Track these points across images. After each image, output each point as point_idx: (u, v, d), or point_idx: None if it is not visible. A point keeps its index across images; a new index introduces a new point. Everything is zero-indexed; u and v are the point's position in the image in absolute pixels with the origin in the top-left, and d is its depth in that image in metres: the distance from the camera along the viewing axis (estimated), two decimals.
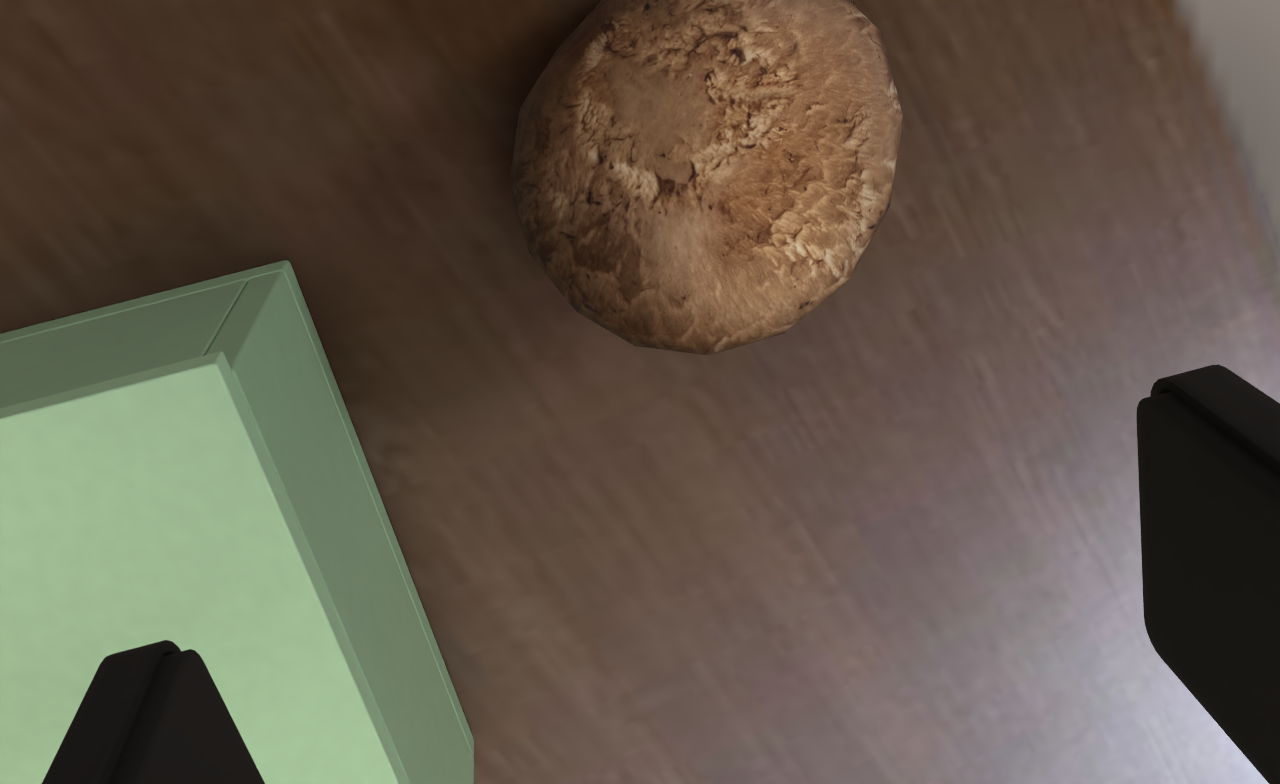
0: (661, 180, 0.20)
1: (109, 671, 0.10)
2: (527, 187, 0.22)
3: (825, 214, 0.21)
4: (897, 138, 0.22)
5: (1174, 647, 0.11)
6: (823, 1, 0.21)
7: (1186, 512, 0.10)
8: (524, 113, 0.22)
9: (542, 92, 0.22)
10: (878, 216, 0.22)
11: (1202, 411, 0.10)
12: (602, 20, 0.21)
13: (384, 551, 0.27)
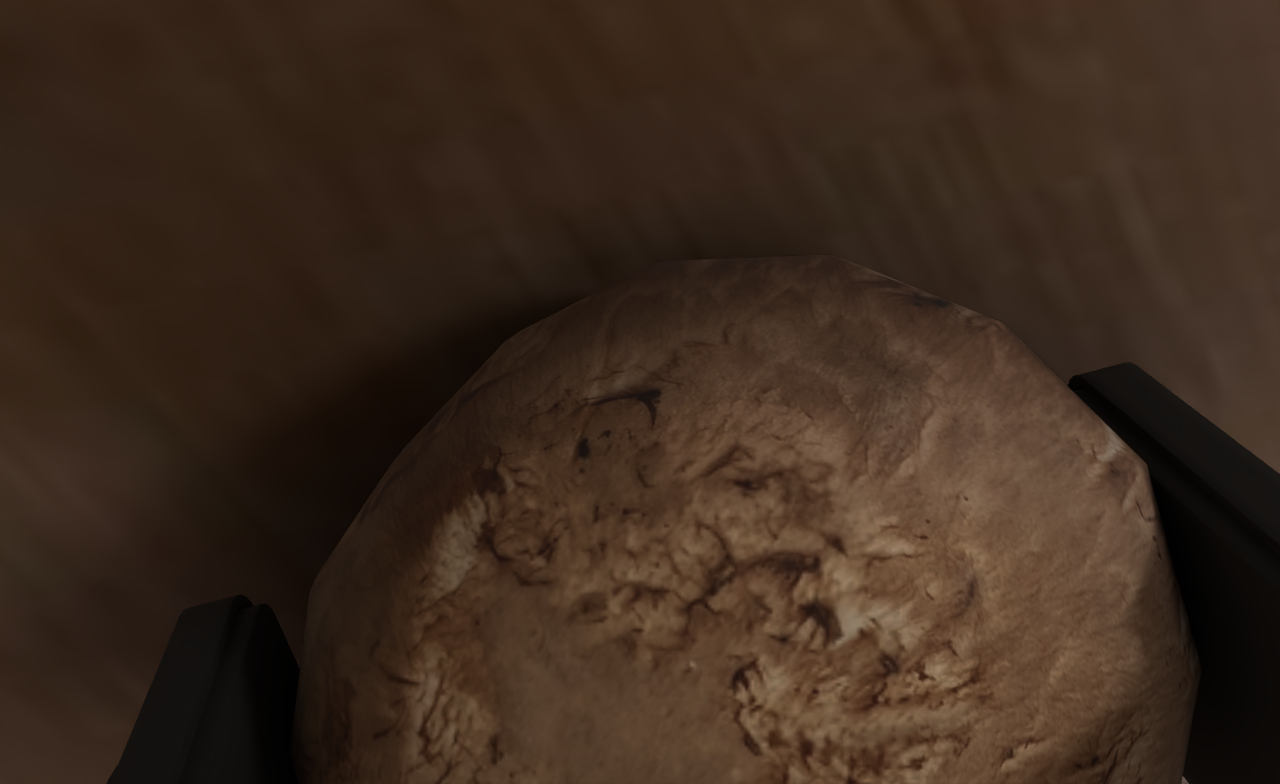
0: None
1: (189, 623, 0.10)
2: None
3: None
4: (1189, 726, 0.09)
5: None
6: (1030, 437, 0.08)
7: None
8: (309, 628, 0.10)
9: (341, 604, 0.09)
10: None
11: (1110, 406, 0.10)
12: (479, 451, 0.09)
13: None
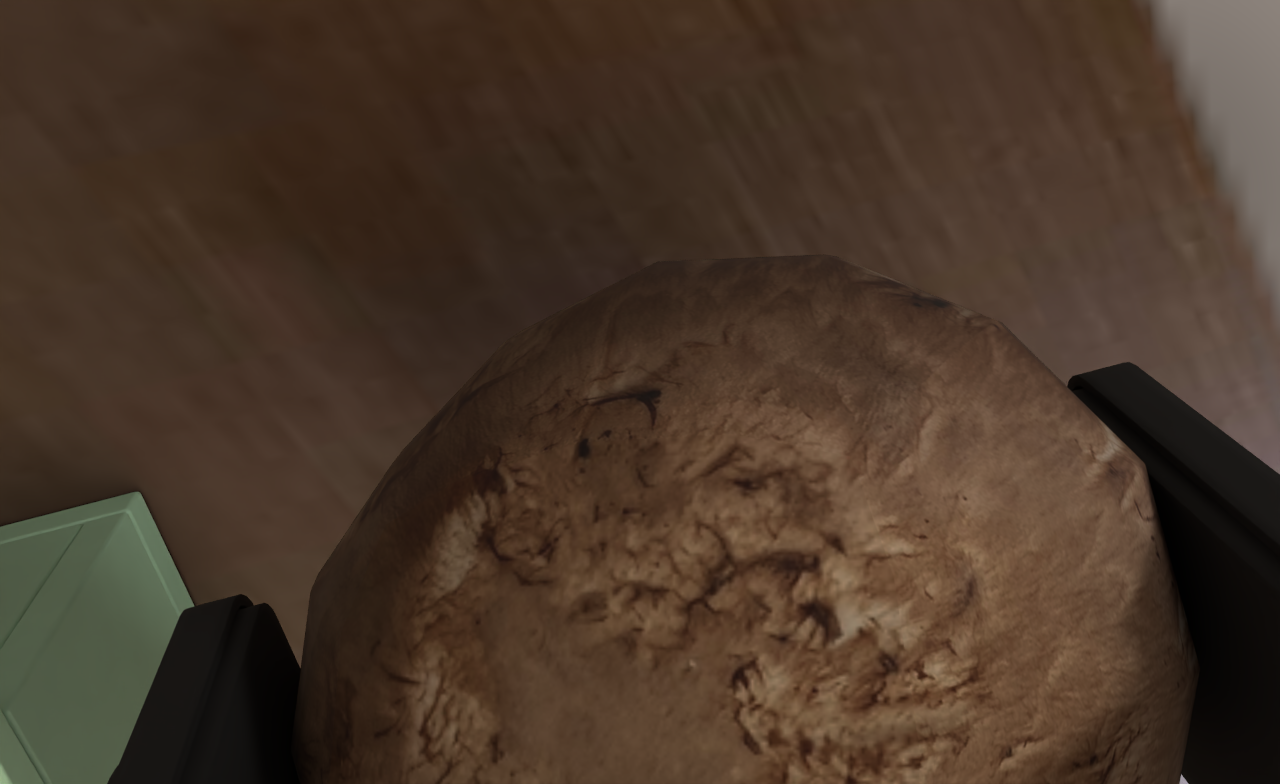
0: None
1: (189, 622, 0.10)
2: None
3: None
4: (1187, 725, 0.09)
5: None
6: (1029, 437, 0.08)
7: None
8: (310, 627, 0.10)
9: (342, 603, 0.09)
10: None
11: (1109, 406, 0.10)
12: (479, 452, 0.09)
13: None
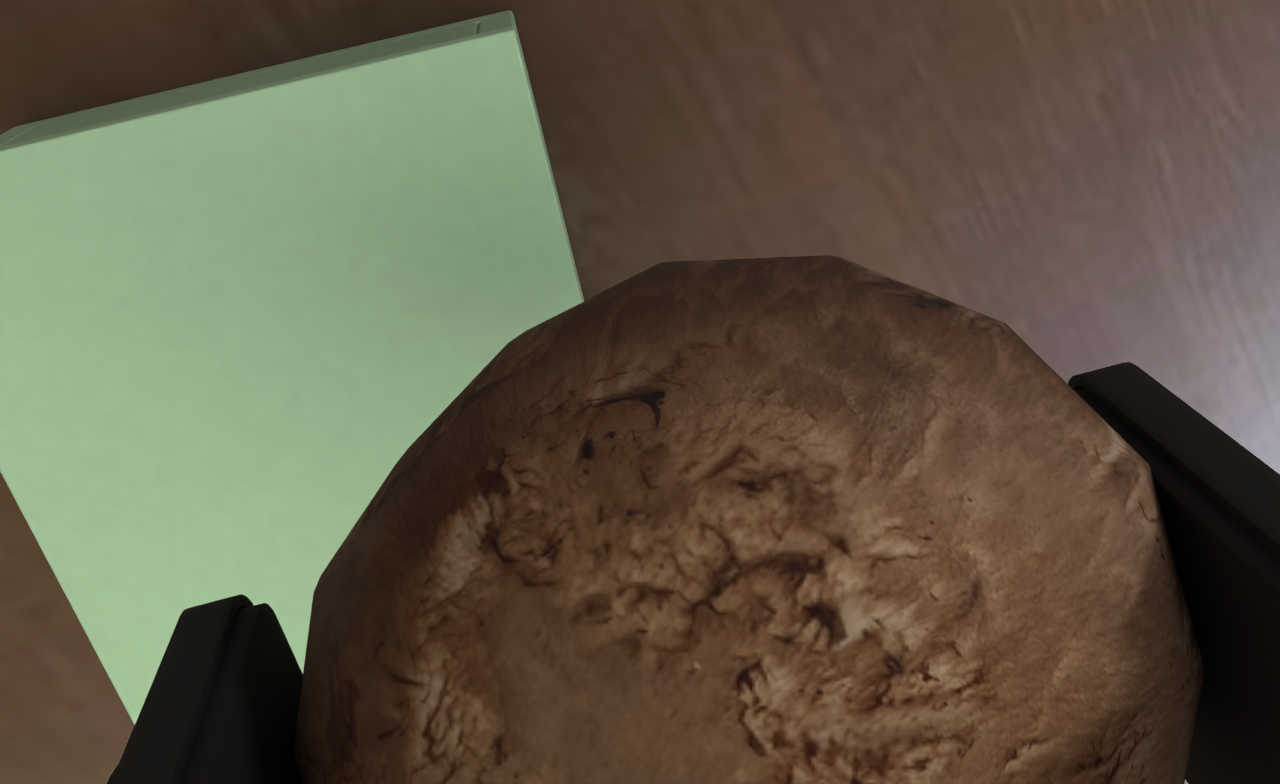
0: None
1: (189, 622, 0.10)
2: None
3: None
4: (1192, 727, 0.09)
5: None
6: (1034, 438, 0.08)
7: None
8: (313, 628, 0.10)
9: (345, 605, 0.09)
10: None
11: (1109, 406, 0.10)
12: (483, 452, 0.09)
13: None
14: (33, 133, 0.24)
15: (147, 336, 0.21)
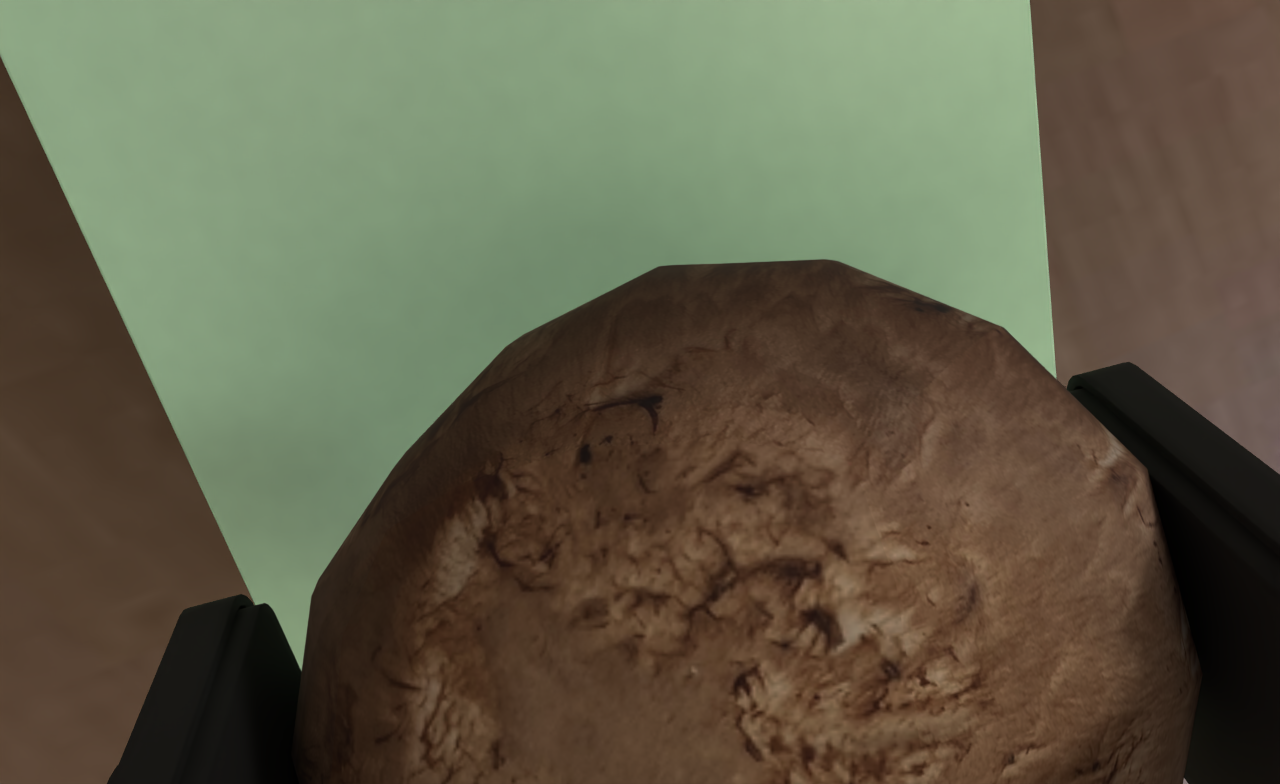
0: None
1: (189, 622, 0.10)
2: None
3: None
4: (1190, 731, 0.09)
5: None
6: (1031, 443, 0.08)
7: None
8: (311, 632, 0.10)
9: (343, 609, 0.09)
10: None
11: (1109, 406, 0.10)
12: (480, 456, 0.09)
13: None
14: None
15: (392, 184, 0.14)
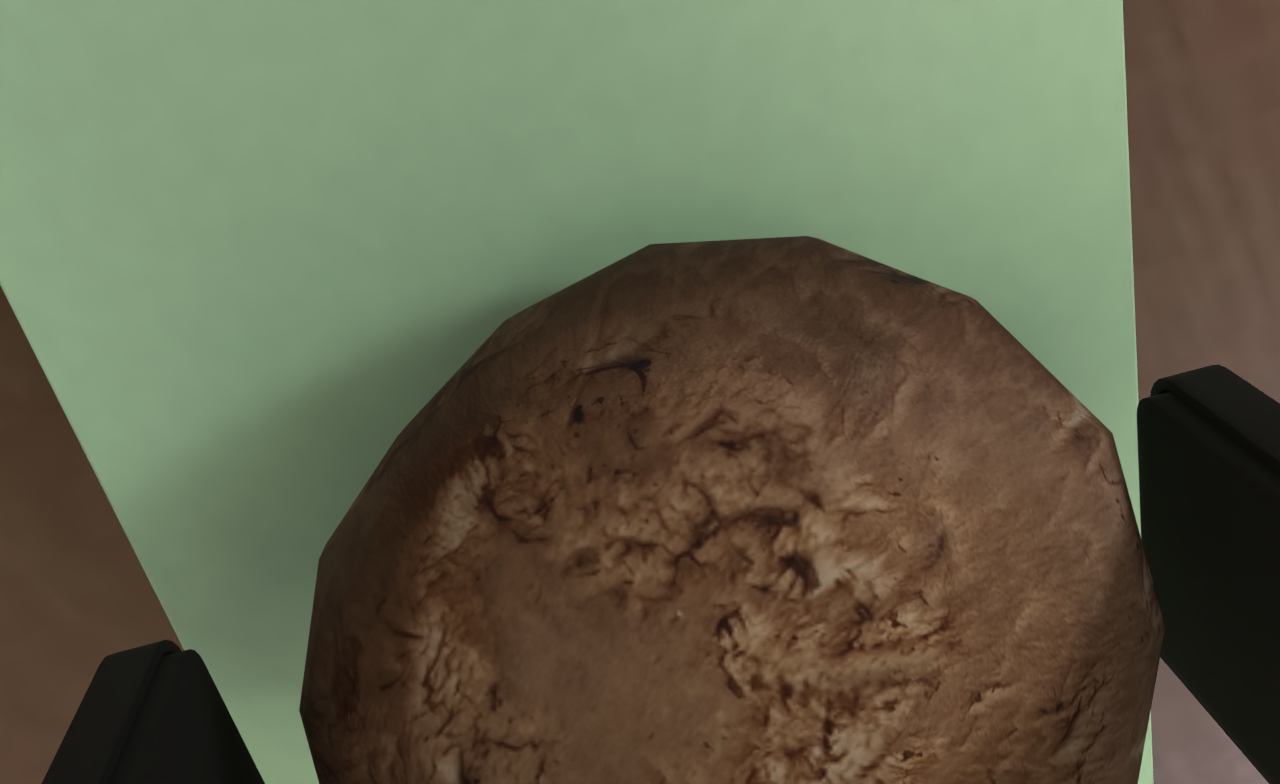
0: None
1: (109, 671, 0.10)
2: (319, 763, 0.10)
3: None
4: (1153, 681, 0.09)
5: (1175, 647, 0.11)
6: (998, 403, 0.09)
7: (1187, 512, 0.10)
8: (319, 591, 0.10)
9: (349, 566, 0.10)
10: None
11: (1203, 411, 0.10)
12: (480, 419, 0.09)
13: None
14: None
15: (376, 246, 0.12)
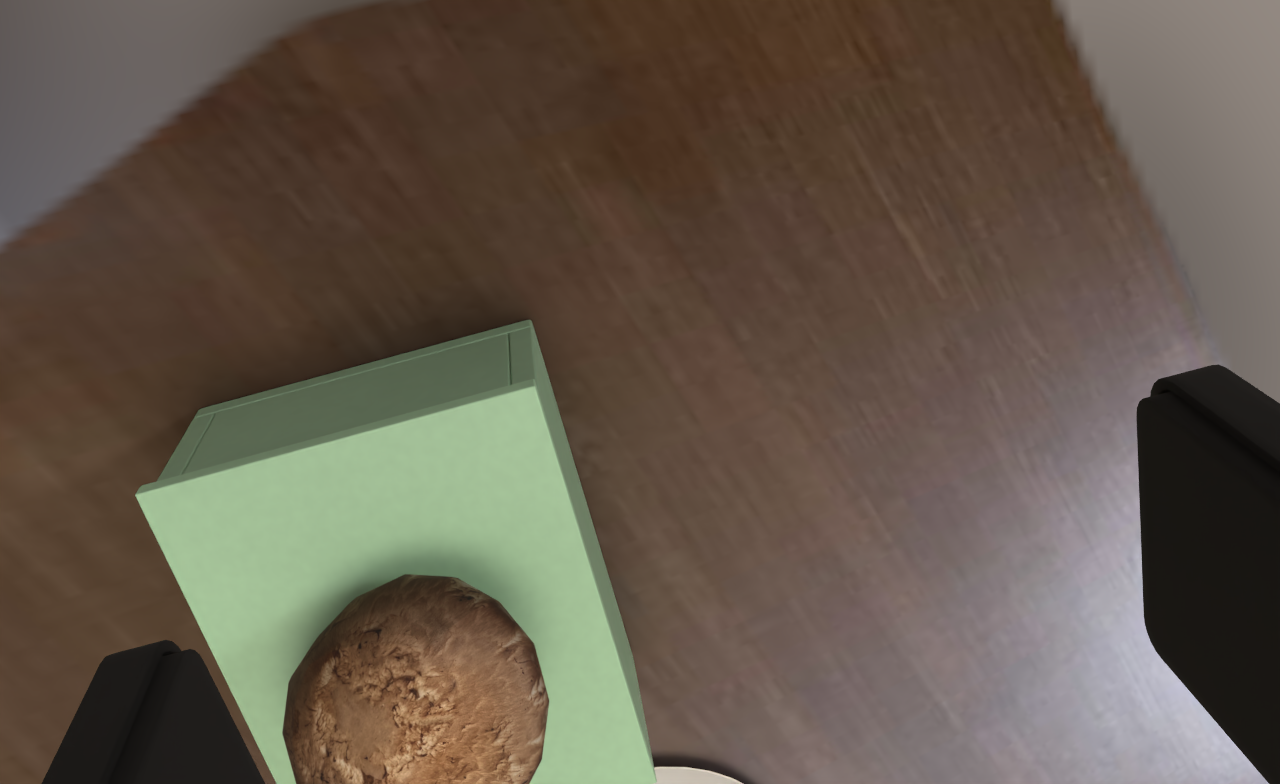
0: (365, 775, 0.30)
1: (109, 671, 0.10)
2: (288, 749, 0.32)
3: None
4: (540, 721, 0.31)
5: (1174, 647, 0.11)
6: (479, 642, 0.30)
7: (1186, 512, 0.10)
8: (288, 694, 0.32)
9: (296, 687, 0.31)
10: (529, 774, 0.31)
11: (1202, 411, 0.10)
12: (335, 644, 0.31)
13: (587, 515, 0.40)
14: (220, 425, 0.36)
15: (308, 570, 0.33)
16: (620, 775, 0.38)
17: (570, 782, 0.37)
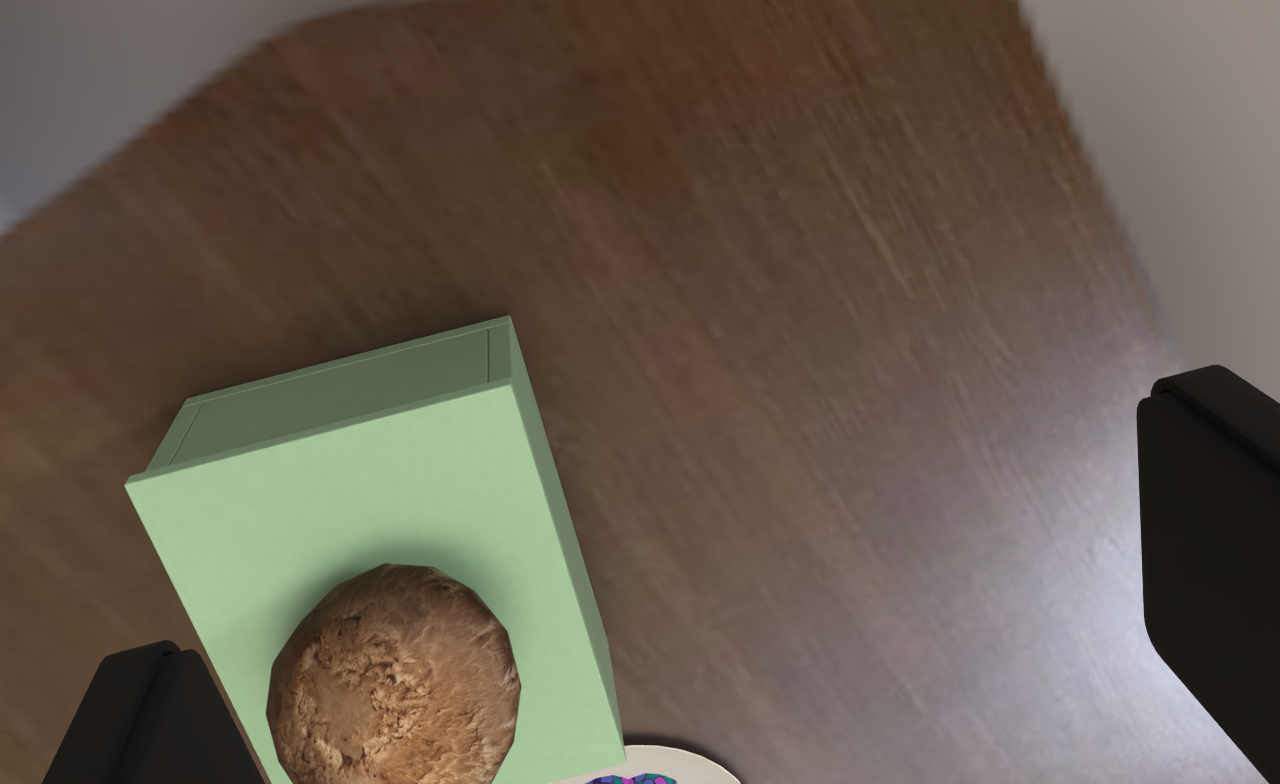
0: (344, 755, 0.31)
1: (109, 671, 0.10)
2: (271, 729, 0.33)
3: (456, 769, 0.32)
4: (513, 705, 0.32)
5: (1173, 646, 0.11)
6: (454, 630, 0.32)
7: (1186, 512, 0.10)
8: (271, 677, 0.33)
9: (279, 671, 0.33)
10: (501, 756, 0.33)
11: (1203, 411, 0.10)
12: (316, 630, 0.32)
13: (563, 504, 0.41)
14: (207, 415, 0.37)
15: (291, 558, 0.35)
16: (591, 755, 0.39)
17: (543, 761, 0.39)
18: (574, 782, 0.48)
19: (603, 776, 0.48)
